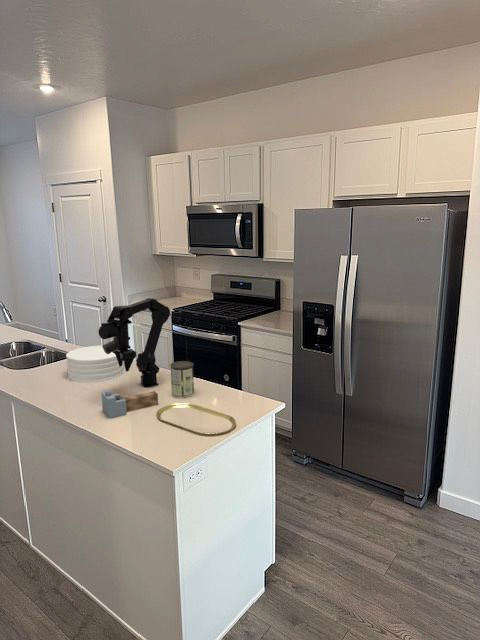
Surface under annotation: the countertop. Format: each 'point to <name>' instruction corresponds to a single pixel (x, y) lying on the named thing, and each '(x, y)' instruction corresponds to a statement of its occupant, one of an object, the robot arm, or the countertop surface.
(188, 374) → the coffee can
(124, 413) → the stepped blue block
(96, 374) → the plate stack
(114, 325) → the robot arm
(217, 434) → the serving platter
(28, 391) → the countertop surface
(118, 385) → the countertop surface
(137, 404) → the brown wooden bar
